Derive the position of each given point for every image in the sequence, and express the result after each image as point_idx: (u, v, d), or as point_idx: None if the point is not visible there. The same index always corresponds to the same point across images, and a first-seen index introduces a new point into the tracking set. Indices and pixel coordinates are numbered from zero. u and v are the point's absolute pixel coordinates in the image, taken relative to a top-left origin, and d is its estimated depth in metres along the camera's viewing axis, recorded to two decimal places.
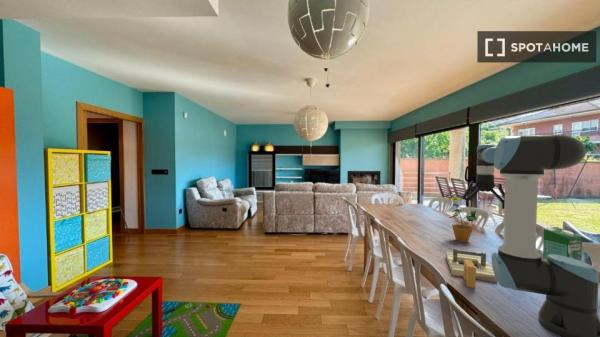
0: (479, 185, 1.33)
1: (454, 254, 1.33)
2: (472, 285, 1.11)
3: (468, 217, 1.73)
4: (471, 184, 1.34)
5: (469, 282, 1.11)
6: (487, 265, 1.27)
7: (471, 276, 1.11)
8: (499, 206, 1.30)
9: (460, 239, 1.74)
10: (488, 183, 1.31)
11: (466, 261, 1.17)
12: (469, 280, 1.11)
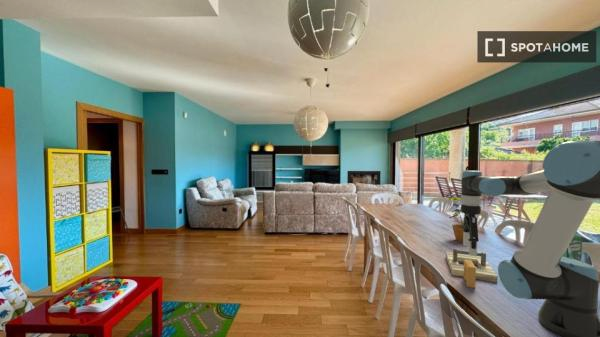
0: (466, 216, 1.18)
1: (454, 254, 1.33)
2: (472, 285, 1.11)
3: None
4: (464, 213, 1.21)
5: (469, 282, 1.11)
6: (487, 265, 1.27)
7: (471, 276, 1.11)
8: None
9: (460, 239, 1.74)
10: (468, 215, 1.14)
11: (466, 261, 1.17)
12: (469, 280, 1.11)
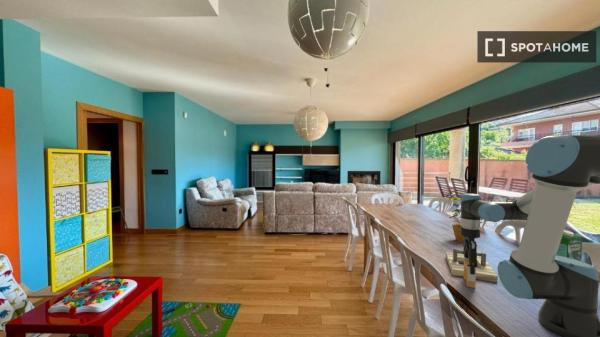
0: (466, 238, 1.18)
1: (454, 254, 1.33)
2: (472, 285, 1.11)
3: None
4: (464, 237, 1.21)
5: (469, 282, 1.11)
6: (487, 265, 1.27)
7: None
8: None
9: (460, 239, 1.74)
10: (467, 238, 1.14)
11: (466, 261, 1.17)
12: None
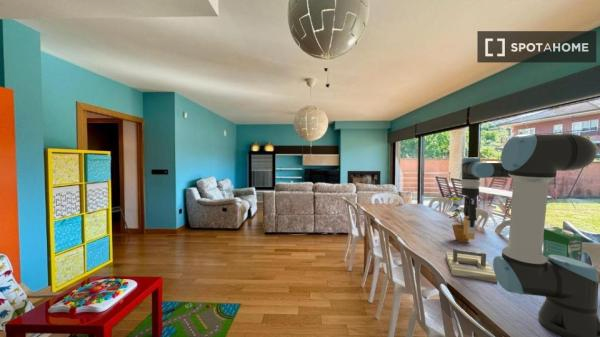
0: (466, 198, 1.32)
1: (454, 254, 1.33)
2: (471, 237, 1.26)
3: None
4: (464, 197, 1.36)
5: (469, 234, 1.26)
6: (487, 265, 1.27)
7: None
8: None
9: (460, 239, 1.74)
10: (468, 196, 1.28)
11: (466, 218, 1.32)
12: (469, 233, 1.26)
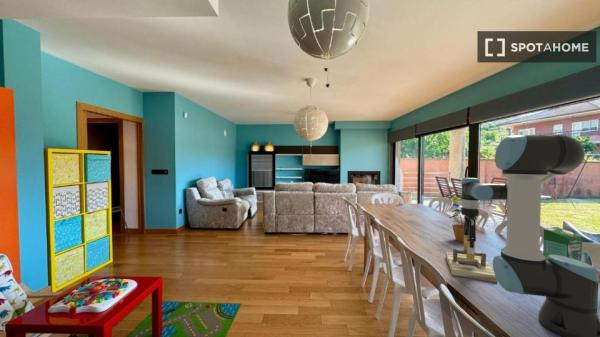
0: (466, 217, 1.33)
1: (454, 254, 1.33)
2: (471, 257, 1.26)
3: None
4: (464, 217, 1.36)
5: (469, 255, 1.27)
6: (487, 265, 1.27)
7: None
8: None
9: (460, 239, 1.74)
10: (467, 216, 1.29)
11: (466, 237, 1.33)
12: None
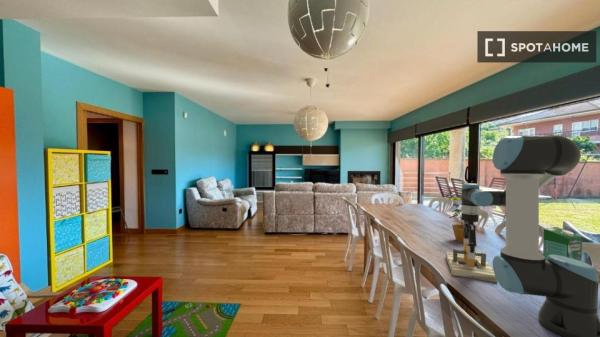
0: None
1: (454, 254, 1.33)
2: (471, 265, 1.27)
3: None
4: (464, 221, 1.37)
5: (468, 262, 1.27)
6: (487, 265, 1.27)
7: None
8: None
9: (460, 239, 1.74)
10: (467, 222, 1.30)
11: (466, 245, 1.33)
12: (468, 261, 1.27)
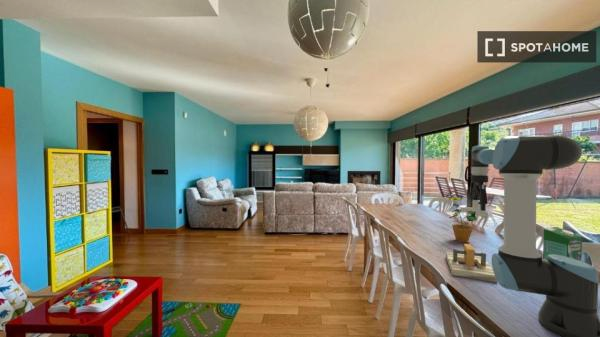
0: None
1: (454, 254, 1.33)
2: (471, 265, 1.27)
3: (468, 217, 1.73)
4: None
5: (468, 262, 1.27)
6: (487, 265, 1.27)
7: (470, 257, 1.27)
8: None
9: (460, 239, 1.74)
10: (477, 183, 1.34)
11: (466, 245, 1.33)
12: (468, 261, 1.27)
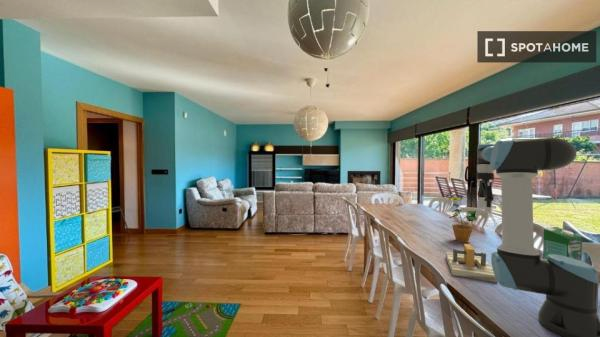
0: (481, 182, 1.40)
1: (454, 254, 1.33)
2: (471, 265, 1.27)
3: (468, 217, 1.73)
4: (479, 181, 1.44)
5: (468, 262, 1.27)
6: (487, 265, 1.27)
7: (470, 257, 1.27)
8: None
9: (460, 239, 1.74)
10: (483, 181, 1.37)
11: (466, 245, 1.33)
12: (468, 261, 1.27)
